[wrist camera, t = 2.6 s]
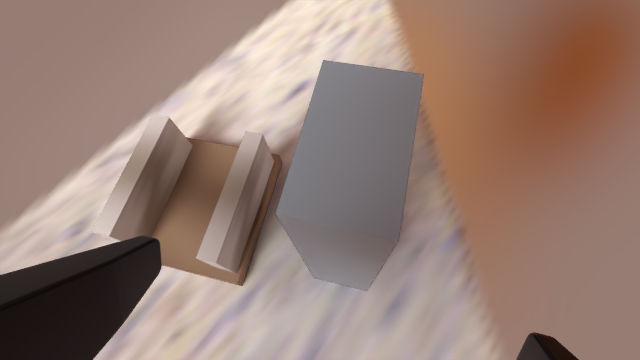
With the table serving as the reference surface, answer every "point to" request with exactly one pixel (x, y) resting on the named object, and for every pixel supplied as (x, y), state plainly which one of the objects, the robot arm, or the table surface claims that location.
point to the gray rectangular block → (351, 171)
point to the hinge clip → (194, 199)
